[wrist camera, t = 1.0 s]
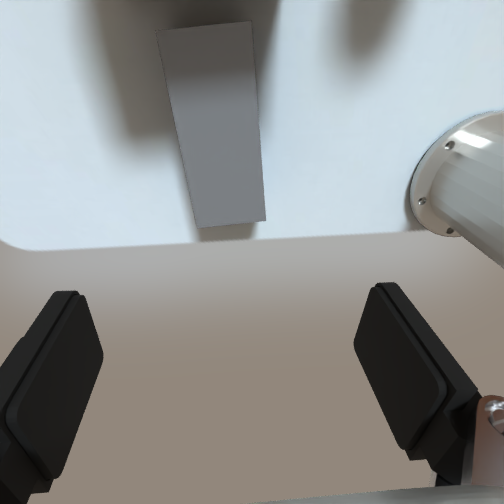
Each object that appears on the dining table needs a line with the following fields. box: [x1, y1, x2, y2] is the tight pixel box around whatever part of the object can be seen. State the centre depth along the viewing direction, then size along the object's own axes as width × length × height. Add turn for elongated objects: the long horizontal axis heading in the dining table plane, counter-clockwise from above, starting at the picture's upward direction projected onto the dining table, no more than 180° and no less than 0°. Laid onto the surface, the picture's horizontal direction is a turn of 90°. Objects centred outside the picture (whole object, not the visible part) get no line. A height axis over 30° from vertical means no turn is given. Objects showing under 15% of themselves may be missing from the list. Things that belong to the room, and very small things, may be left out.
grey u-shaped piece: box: [155, 21, 266, 228], centre depth 25 cm, size 14×6×5 cm, turn 5°
